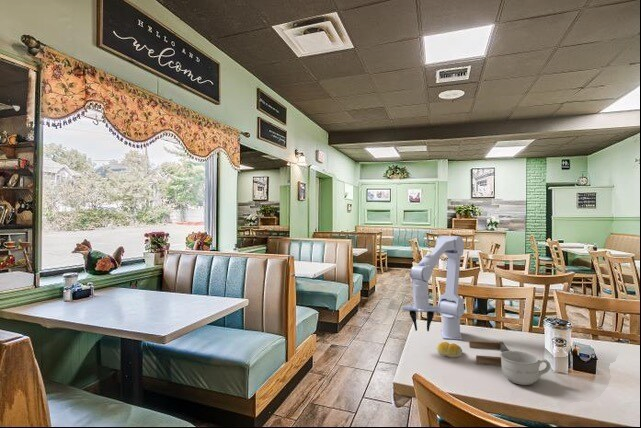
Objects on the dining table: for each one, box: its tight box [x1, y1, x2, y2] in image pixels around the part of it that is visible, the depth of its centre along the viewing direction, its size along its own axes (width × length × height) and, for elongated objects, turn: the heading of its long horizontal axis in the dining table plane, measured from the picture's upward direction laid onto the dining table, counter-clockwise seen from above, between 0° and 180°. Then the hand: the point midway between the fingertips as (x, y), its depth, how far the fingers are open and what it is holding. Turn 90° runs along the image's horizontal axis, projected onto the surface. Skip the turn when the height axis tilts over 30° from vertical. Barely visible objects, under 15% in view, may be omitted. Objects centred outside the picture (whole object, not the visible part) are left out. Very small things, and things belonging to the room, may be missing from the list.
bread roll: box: [436, 341, 463, 359], centre depth 131 cm, size 8×9×4 cm
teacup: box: [500, 350, 551, 386], centre depth 108 cm, size 14×11×8 cm
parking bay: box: [468, 339, 510, 367], centre depth 127 cm, size 16×12×2 cm
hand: (422, 330), depth 133 cm, fingers open, 4 cm apart
